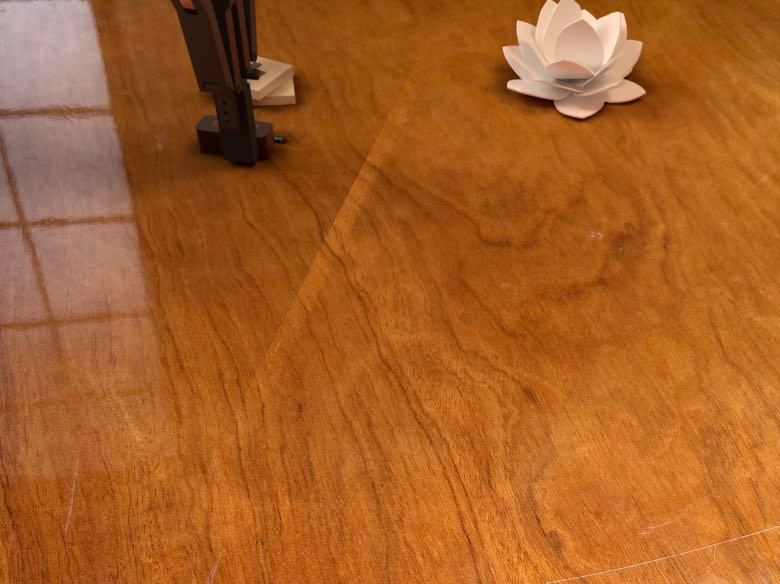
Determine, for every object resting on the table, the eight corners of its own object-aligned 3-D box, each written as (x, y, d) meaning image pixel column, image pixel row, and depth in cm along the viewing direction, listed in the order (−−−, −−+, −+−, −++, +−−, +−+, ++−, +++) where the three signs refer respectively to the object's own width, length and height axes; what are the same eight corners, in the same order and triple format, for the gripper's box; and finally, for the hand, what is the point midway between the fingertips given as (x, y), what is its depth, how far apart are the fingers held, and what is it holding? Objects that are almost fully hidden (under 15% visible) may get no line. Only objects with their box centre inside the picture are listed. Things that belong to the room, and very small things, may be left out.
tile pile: (202, 114, 109) (196, 82, 107) (229, 78, 114) (224, 46, 112) (290, 125, 108) (286, 93, 106) (313, 88, 113) (310, 57, 111)
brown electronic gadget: (278, 174, 102) (273, 139, 100) (199, 163, 103) (193, 129, 100) (294, 148, 105) (290, 114, 103) (217, 138, 106) (212, 104, 103)
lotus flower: (640, 54, 122) (654, -28, 115) (644, 140, 113) (659, 57, 106) (503, 42, 121) (508, -42, 114) (496, 127, 112) (501, 42, 105)
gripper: (215, -112, 79) (259, 201, 96) (275, -168, 88) (306, 128, 105) (109, -124, 79) (172, 190, 97) (179, -178, 88) (225, 118, 105)
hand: (241, 157), depth 101 cm, fingers closed
